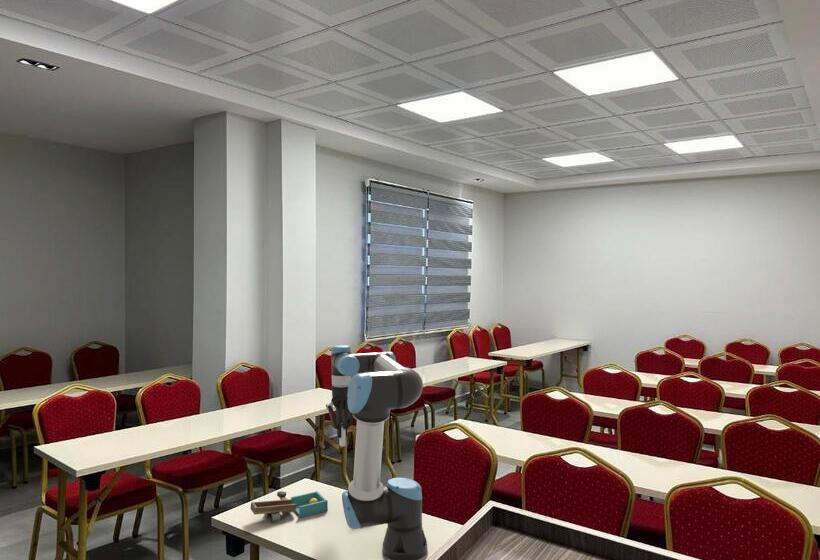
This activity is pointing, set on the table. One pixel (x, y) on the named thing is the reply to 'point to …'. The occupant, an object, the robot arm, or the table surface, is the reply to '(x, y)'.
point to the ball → (313, 500)
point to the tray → (305, 507)
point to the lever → (273, 505)
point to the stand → (274, 517)
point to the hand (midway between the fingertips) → (342, 445)
